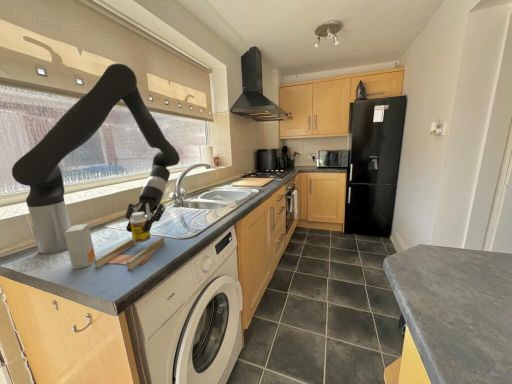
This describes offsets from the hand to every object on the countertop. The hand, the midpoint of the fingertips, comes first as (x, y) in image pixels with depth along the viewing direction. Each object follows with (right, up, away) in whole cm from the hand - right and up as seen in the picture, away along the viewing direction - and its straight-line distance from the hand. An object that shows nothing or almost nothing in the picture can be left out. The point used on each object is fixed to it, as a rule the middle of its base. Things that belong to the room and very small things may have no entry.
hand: (137, 231), depth 72 cm
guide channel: (0, -7, -2) cm, 8 cm away
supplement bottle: (0, -4, +3) cm, 5 cm away
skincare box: (-13, -9, -6) cm, 17 cm away
